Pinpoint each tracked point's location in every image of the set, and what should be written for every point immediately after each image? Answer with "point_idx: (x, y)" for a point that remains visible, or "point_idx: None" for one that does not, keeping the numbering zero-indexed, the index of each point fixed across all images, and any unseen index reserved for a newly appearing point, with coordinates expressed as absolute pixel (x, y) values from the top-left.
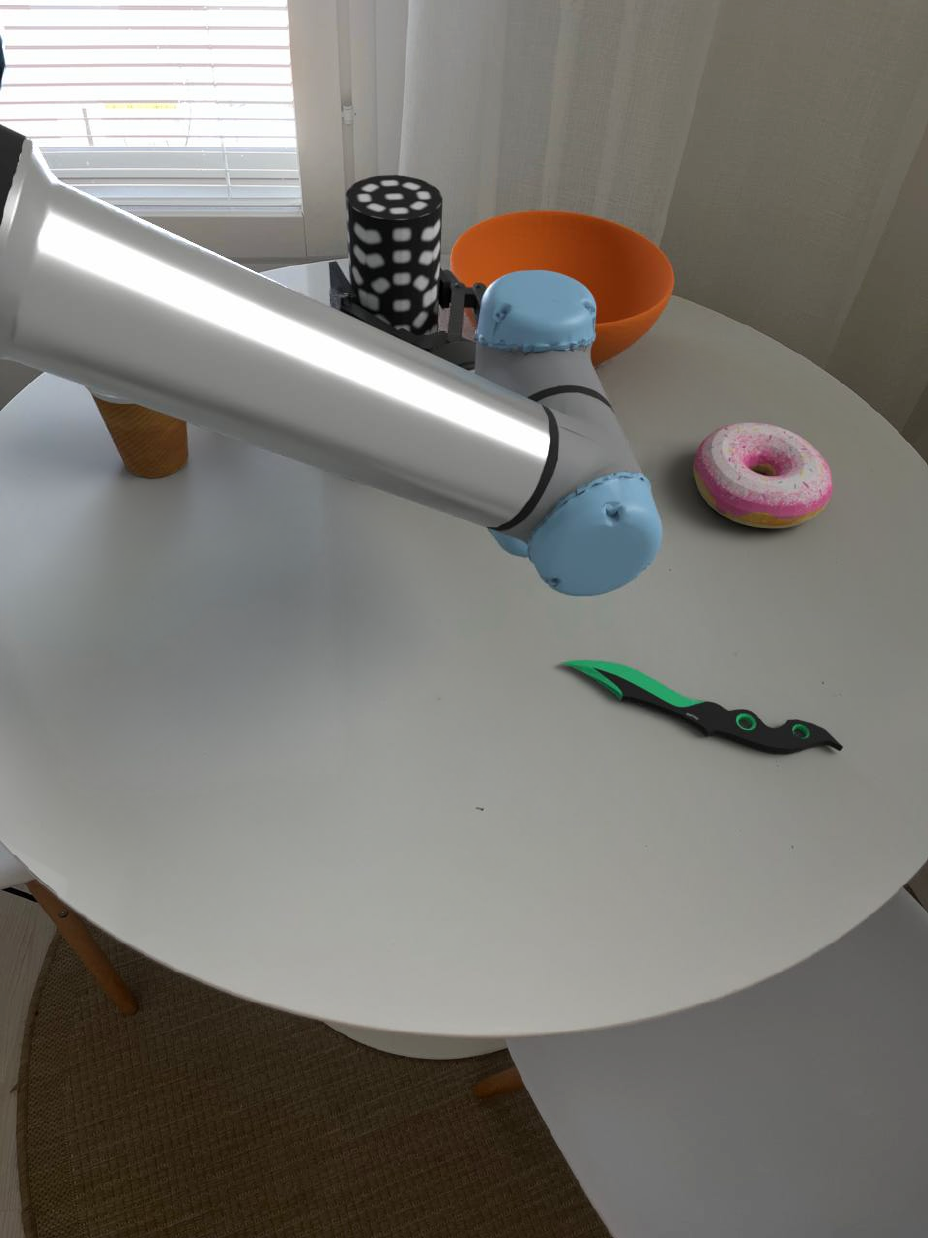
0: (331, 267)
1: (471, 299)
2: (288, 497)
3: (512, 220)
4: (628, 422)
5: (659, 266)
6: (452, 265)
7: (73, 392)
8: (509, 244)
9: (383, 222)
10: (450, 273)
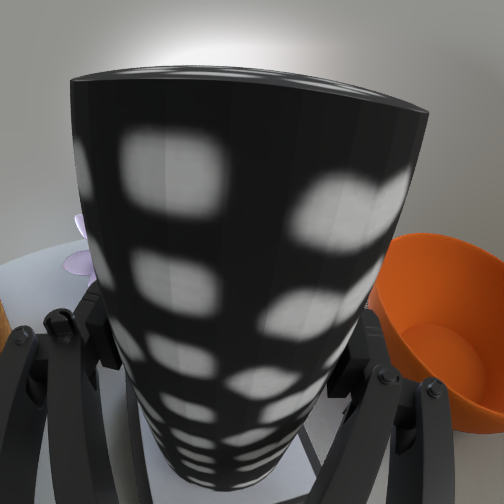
0: None
1: (402, 414)
2: (43, 483)
3: (436, 241)
4: (484, 498)
5: None
6: None
7: (18, 272)
8: (428, 261)
9: (91, 100)
10: (375, 323)
